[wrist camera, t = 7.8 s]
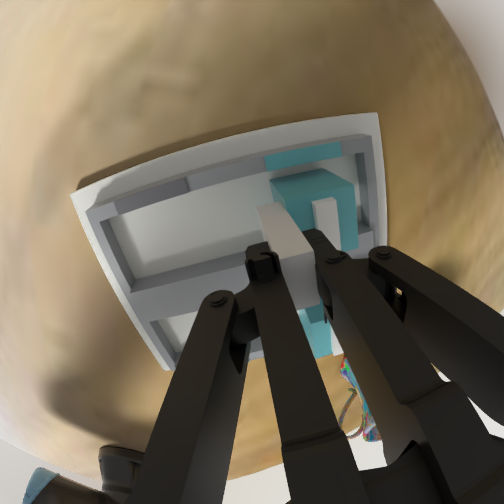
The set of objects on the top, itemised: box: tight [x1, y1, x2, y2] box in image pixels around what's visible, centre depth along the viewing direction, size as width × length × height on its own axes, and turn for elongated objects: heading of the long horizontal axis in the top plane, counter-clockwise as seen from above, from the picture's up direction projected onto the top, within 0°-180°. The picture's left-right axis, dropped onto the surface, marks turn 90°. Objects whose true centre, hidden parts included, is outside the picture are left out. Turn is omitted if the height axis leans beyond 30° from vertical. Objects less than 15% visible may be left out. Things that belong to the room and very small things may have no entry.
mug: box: [338, 357, 382, 442], centre depth 27 cm, size 12×9×11 cm
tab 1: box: [269, 168, 359, 252], centre depth 17 cm, size 4×4×6 cm
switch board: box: [70, 112, 387, 371], centre depth 21 cm, size 24×20×3 cm
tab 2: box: [299, 295, 344, 359], centre depth 21 cm, size 4×4×6 cm
